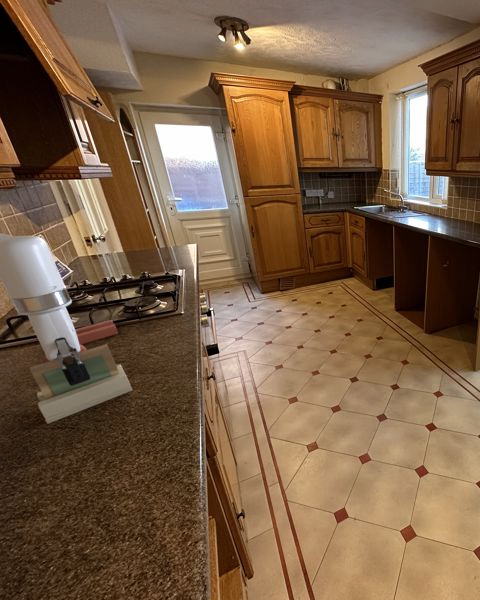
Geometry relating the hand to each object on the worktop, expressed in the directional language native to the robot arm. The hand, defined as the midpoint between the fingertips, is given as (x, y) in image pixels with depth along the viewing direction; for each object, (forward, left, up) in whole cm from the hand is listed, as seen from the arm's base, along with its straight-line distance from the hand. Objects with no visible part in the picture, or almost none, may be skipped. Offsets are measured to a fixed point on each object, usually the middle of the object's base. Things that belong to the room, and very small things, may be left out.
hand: (77, 372), depth 70 cm
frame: (0, 0, -6) cm, 6 cm away
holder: (0, 0, -7) cm, 7 cm away
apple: (-9, +15, -7) cm, 19 cm away
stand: (-12, +31, -7) cm, 34 cm away
